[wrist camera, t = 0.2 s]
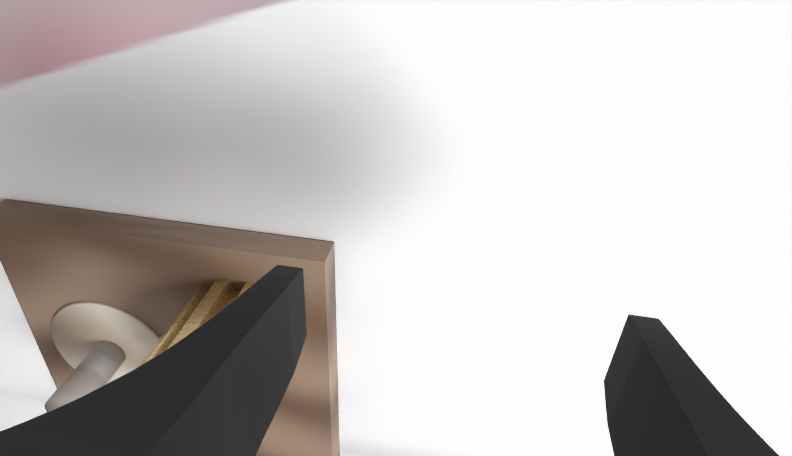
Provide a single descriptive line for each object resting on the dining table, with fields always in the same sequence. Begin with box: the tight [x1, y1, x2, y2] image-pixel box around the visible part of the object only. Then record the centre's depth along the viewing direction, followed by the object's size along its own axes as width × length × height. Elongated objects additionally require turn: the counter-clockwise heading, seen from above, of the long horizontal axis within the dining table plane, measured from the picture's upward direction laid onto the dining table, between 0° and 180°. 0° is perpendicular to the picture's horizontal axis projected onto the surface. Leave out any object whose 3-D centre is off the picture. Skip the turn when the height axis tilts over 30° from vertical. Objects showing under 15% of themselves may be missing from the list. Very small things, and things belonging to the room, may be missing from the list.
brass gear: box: [140, 279, 270, 442], centre depth 24 cm, size 6×6×5 cm
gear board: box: [0, 200, 340, 456], centre depth 28 cm, size 18×16×6 cm
